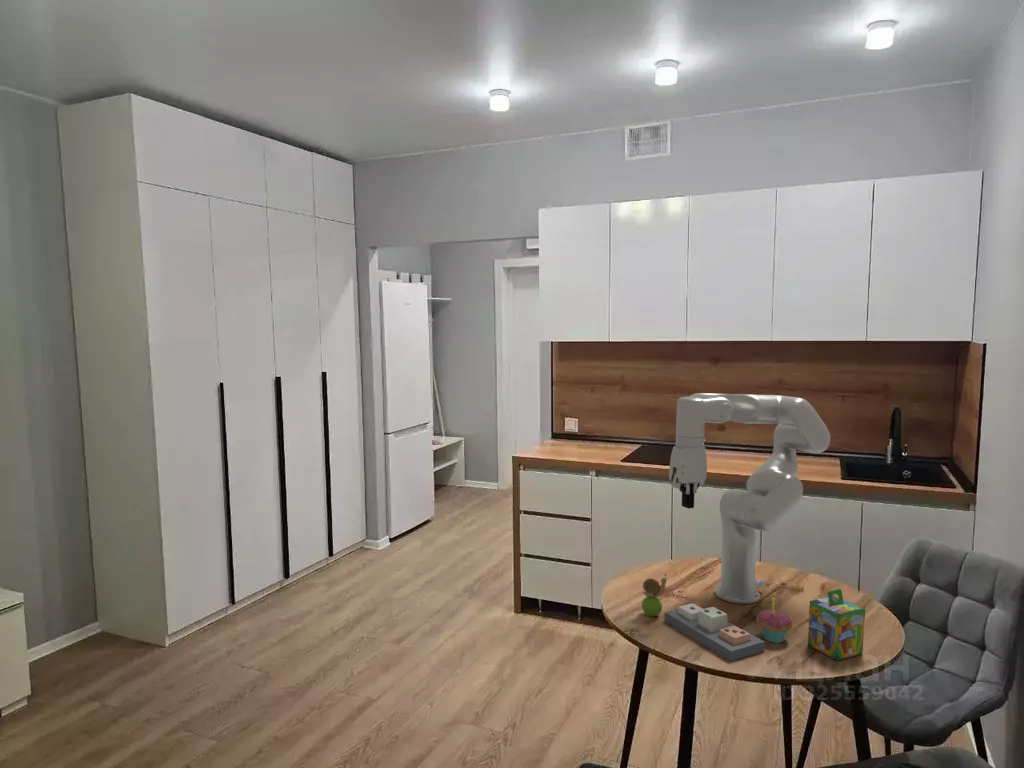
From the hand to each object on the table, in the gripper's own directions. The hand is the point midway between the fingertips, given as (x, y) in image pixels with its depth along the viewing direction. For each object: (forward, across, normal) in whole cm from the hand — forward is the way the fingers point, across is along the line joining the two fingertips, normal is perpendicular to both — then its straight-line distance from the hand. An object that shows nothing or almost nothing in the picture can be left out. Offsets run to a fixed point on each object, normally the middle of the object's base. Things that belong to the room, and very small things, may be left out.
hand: (687, 506), depth 185 cm
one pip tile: (+29, +5, +8) cm, 31 cm away
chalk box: (+29, -17, +35) cm, 49 cm away
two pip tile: (+27, +5, +16) cm, 32 cm away
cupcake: (+29, -8, +24) cm, 39 cm away
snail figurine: (+29, +11, 0) cm, 31 cm away
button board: (+29, +5, +16) cm, 34 cm away
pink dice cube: (+29, +5, +24) cm, 38 cm away
